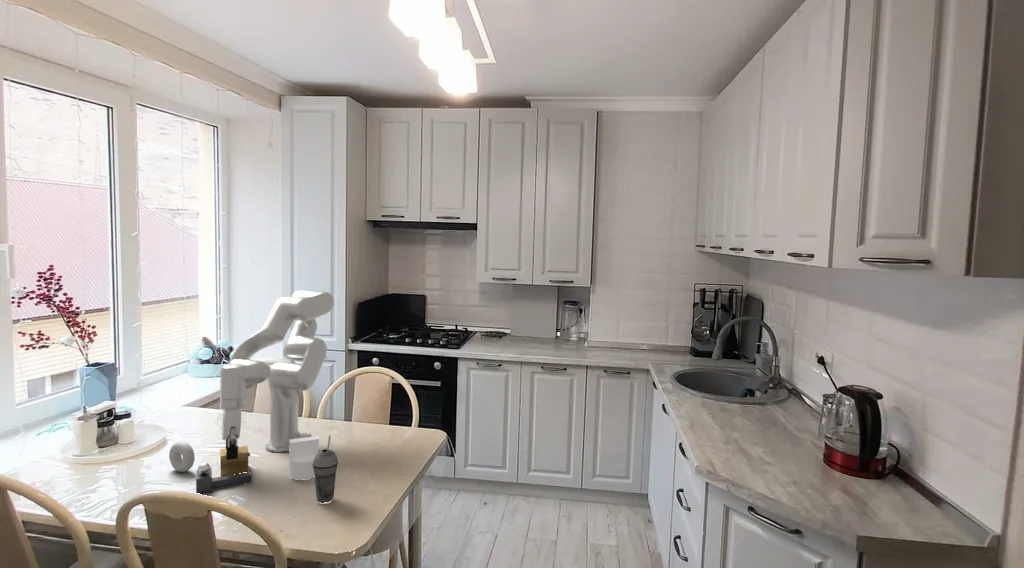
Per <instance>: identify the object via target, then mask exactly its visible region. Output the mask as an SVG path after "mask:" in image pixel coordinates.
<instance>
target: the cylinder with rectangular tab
mask: <svg viewBox="0 0 1024 568" xmlns="http://www.w3.org/2000/svg"><path fill="white" fill-rule="evenodd" d="M319 444H320V442H319V436H318V435H314V436H313V435H312V437H305V438H298V439H290V440H289V451H288V453H289V457H288V458H289V460H288V462H289V464H288V466H289V467H288V468H289V469H288V472H289V474H288V475H289V476H290V477H289V479H290V478H292V479H296V480H297V479H298V480H302V479H309V478H312V477H314V476H315V475H314V470H313V466H312V465H313V460H314V457H315V456H316V454H317V453H318V452H319V449H320V448H319ZM314 478H315V477H314ZM292 479H291V480H292ZM312 479H313V478H312ZM296 480H295V481H296ZM309 480H310V479H309Z"/></svg>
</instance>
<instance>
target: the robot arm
mask: <svg viewBox="0 0 1024 568" xmlns="http://www.w3.org/2000/svg"><path fill="white" fill-rule="evenodd" d="M334 303H335V299H334V296H333V295H332V294H331V293H330V292H328V291H323V290H308V289H299V290H296V291H294V292H293V293H292V295H291V296H281V297H279V298H278V299H277V300H276V301H275V302H274V304H273V306H272V308H271V309H270V311H269V313H268V315H267V316H266V318H265V320H264V322H263V323H262V324H261V327H260V329H259V330H258V331H257V332H255V333H253V334H252V335H251V336H249V337H248V338H247V339H245V340H244V341H242V342H241V343H240V344H239V345H238V346H237V347H236V349H235V350H234V352H233V354H232V355H231V357H230V359H229V361H228V363H227V364H224V365H223V366H222V367H221V369H220V385H219V386H220V388H219V389H220V390H219V409H221V410H222V425H221V426H222V429H221V430H222V434H221V436H222V440H223V441H225V449H227V455H226V459H227V460H230V459H237V458H238V447H239V445H238V439H240V435H241V427H242V411H243V410H242V409H243V408H245V407H246V404H247V385H254V384H255V385H256V384H261V383H264V382H266V380H267V384H268V388H269V397H270V398H269V399H270V401H269V404H270V405H269V406H270V408H269V409H270V413H269V414H270V416H269V417H270V422H269V423H270V425H269V426H270V428H269V429H270V430H269V431H270V433H269V434H270V436H269V437H270V438H269V439H270V440H268V441H267V442H266V443H265V449H266V451H267V450H268V451H269V452H272V451H273V452H274V453H286V452H289V440H290V439H298V438H305V437H313V435H312V433H311V432H310V433H308V432H306V431H304V432H300V431H299V395H298V393H297V391H301V392H305V391H308V390H310V389H311V388H313V387H314V385H315V382H316V381H317V379H318V376H319V373H320V372H321V369H322V367H323V364H324V362H325V358H326V356H327V350H328V349H327V344H326V342H325V341H324V339H321V338H319V337H315V335H316V333H317V330H318V323H317V320H316V319H317V318H320V317H322V316H324V315H327V314H328V313H330V312H331V311H332V309H333V308H334V305H335V304H334ZM292 324H293V326H292ZM291 327H292V328H291ZM290 328H291V330H290V333H289V335H288V337H287V339H286V342H285V343H284V344H285V345H284V346H283V350H282V354H283V357H284V358H285V359H287V360H288V361H278V362H274V363H273V364H272V365H269V364H268V363H266V361H265V362H264V361H261V360H255V359H252V358H253V357H254V355H255V354H256V353H258V352H259V351H261V350H263V349H266V348H269V347H271V346H274V345H276V344H280V343H281V342H283V340H284V339H285V338H286V335H287V333H288V331H289V329H290ZM291 361H292V362H291ZM293 361H295V362H301V363H295V362H293ZM285 451H286V452H285Z"/></svg>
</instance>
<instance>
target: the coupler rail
mask: <svg viewBox="0 0 1024 568" xmlns="http://www.w3.org/2000/svg"><path fill="white" fill-rule="evenodd" d="M212 468H213V467H211V466H210V463H207V462H202V463H200V464H199V465H198V467H197V469H196V474H195V476H196V477H195V486H196V487H195V490H196V493H200V494H202V495H206V494H212V492H213V491H212V490H216V489H223V488H228V487H229V486H230V487H235V486H240V485H239V484H241V485H245V484H244V483H247V484H251V483H250V482H252V478H253V476H252V475H253V474H252V472H251V471H248V472H247V473H241V474H235V475H229V476H223V477H221V476H218V477H213V475H212V474H213V473H212V472H213V470H212ZM234 485H235V486H234ZM230 487H229V488H230Z"/></svg>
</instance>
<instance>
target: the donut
mask: <svg viewBox="0 0 1024 568" xmlns="http://www.w3.org/2000/svg"><path fill="white" fill-rule="evenodd" d="M168 454H169V455H168V456H169V457H168V458H169V461H170V464H171V466H172V468H173V469H174V470H176V471H177V472H181V473H183V472H187V471H189V470H190V469H192V467H193V466H194V463H195V460H196V458H195V451H194V449H193V447H192V445H191V444H189V442H187V441H184V440H183V441H182V440H180V441H179V440H178V441H177V442H175V443H173V445H172V446H171V447H170V449H169V453H168Z"/></svg>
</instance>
